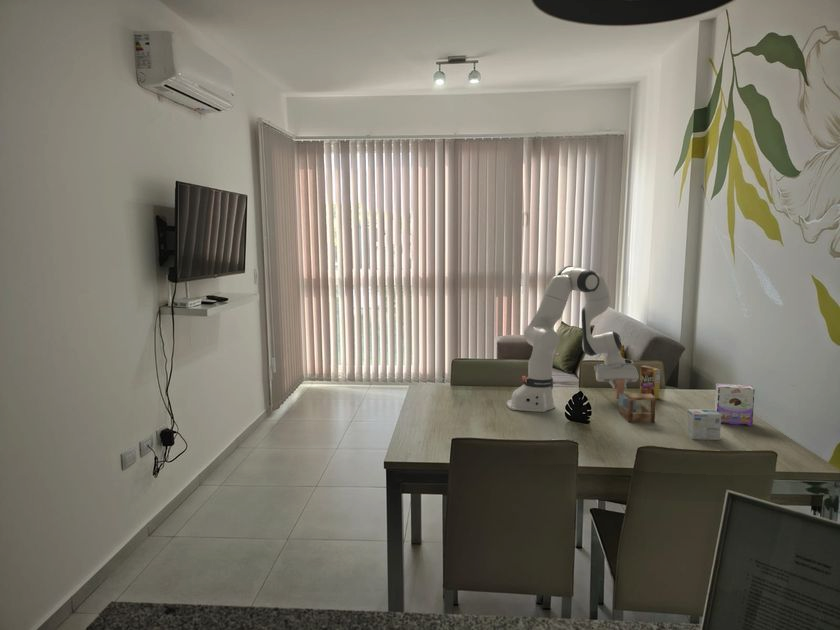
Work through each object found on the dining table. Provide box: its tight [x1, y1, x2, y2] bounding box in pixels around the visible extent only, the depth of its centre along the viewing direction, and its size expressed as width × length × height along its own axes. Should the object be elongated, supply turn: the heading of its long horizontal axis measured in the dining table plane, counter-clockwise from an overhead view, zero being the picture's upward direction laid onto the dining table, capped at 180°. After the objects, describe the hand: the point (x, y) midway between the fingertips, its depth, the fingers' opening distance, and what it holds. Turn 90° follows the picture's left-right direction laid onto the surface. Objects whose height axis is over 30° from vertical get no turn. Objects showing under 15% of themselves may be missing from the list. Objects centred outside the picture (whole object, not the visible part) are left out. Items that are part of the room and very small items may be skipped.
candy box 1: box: [639, 365, 661, 400], centre depth 272 cm, size 9×4×15 cm, turn 28°
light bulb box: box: [686, 408, 722, 441], centre depth 215 cm, size 11×7×11 cm, turn 84°
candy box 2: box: [714, 383, 756, 427], centre depth 232 cm, size 14×6×16 cm, turn 71°
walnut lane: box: [619, 393, 657, 424], centre depth 239 cm, size 11×12×11 cm
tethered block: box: [613, 379, 637, 412], centre depth 257 cm, size 6×17×9 cm, turn 178°
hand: (619, 388), depth 263 cm, fingers closed on tethered block, 3 cm apart
